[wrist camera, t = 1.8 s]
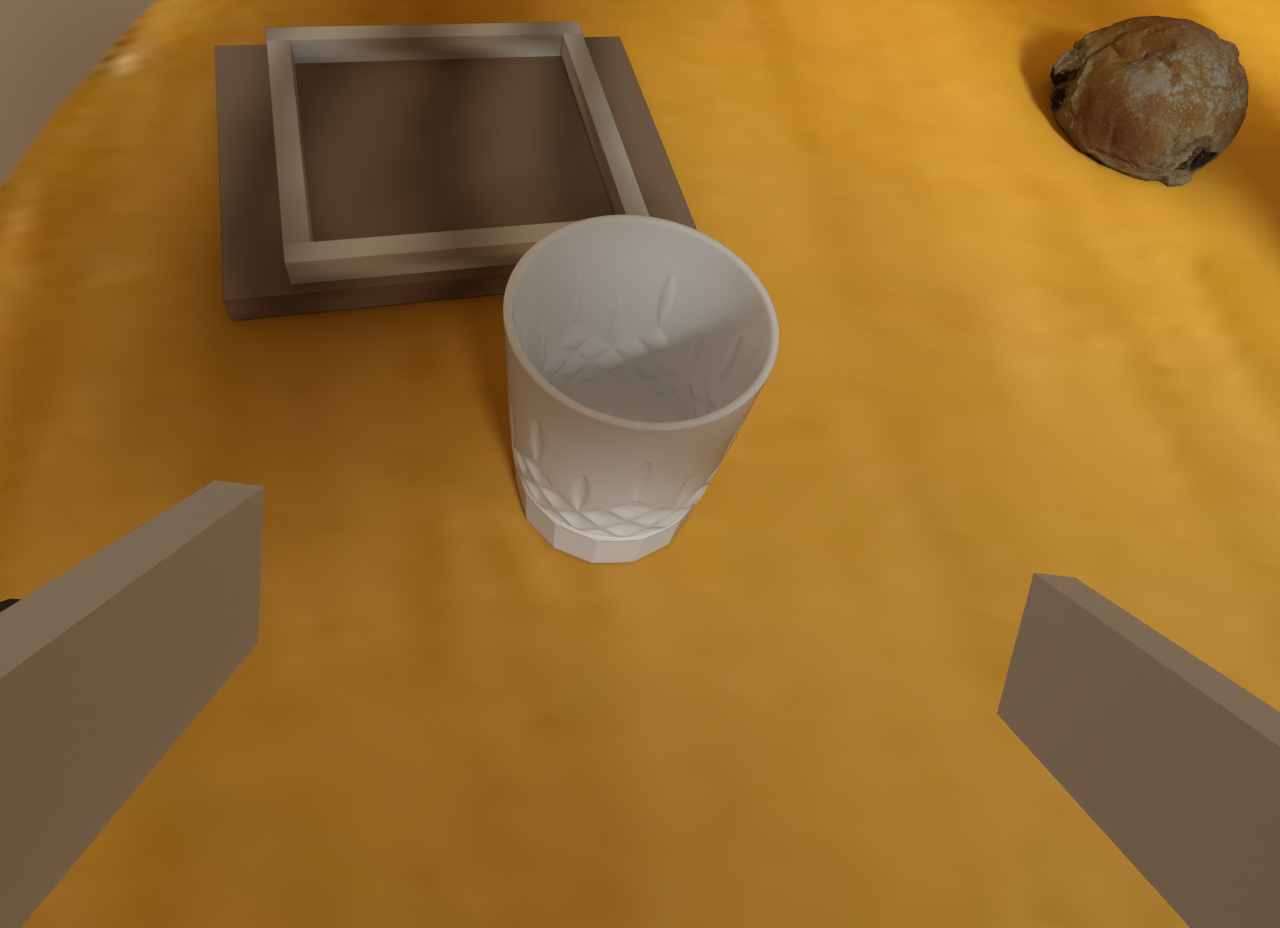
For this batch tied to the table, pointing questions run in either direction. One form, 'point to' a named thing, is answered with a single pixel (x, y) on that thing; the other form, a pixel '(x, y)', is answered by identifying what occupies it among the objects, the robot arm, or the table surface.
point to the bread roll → (1151, 97)
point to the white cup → (628, 378)
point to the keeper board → (421, 159)
